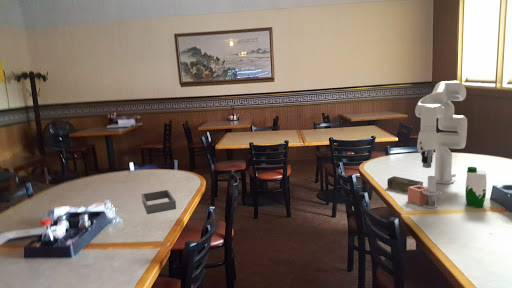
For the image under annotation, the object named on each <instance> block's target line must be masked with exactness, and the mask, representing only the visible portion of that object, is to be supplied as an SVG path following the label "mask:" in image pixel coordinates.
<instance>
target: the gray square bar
mask: <svg viewBox="0 0 512 288" xmlns="http://www.w3.org/2000/svg"><path fill="white" fill-rule="evenodd" d="M424 153H425V151H424ZM427 156H428V158H427V164H426V163H422V168H424V169H425V168H426V169H430V168H432V163H431V161H432V162H433V158H432V150H427Z"/></svg>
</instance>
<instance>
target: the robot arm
mask: <svg viewBox="0 0 512 288" xmlns="http://www.w3.org/2000/svg"><path fill="white" fill-rule="evenodd" d="M466 96H467V90H466V87H465V86H464V84H463V82H461V81H459V80H449V81H447V80H445V81H440V82H438V83H437V84H435V86H434V88H433V90H432V92H431V93H429V94H427V95H426V96H423V97H422V98H420V99H419V100H418V102H417V104H416V106H415V109H414V110H415V111H414V112H415V115H416V117H417V118H420V131H419V133H418V137H417V144H416V146H417V152H418V153H419V154H420V156H421V163H422V164H423V163H426V164H427V158H428V156H427V150H432V159H433V158H434V175H433V176H436V184H441V185H450V184H453V183H454V182H455V180H454V179H453V178H456V176H457V175H456V174H455V173H453V174H452V168H453V167H452V164H453V154H452V152H451V150H450V149H457V150H459V149H460V150H461V149H464V148H465V147H466V144H467V134H468V118H467V117H466V116H465V115H457V114H455V106H454V103H452V102H454V101H455V102H458V101H459V102H462V101H464V100H465V99H466ZM437 120H438V121H437ZM437 126H438V129H439V130H440V131H441V130H442V131H445V132H437ZM446 131H449V132H446ZM451 131H452V132H451ZM453 131H454V132H453ZM424 151H425V153H424ZM434 153H435V154H434ZM434 155H435V156H434ZM433 156H434V157H433ZM432 163H433V160H432V161H431V164H432Z"/></svg>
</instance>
